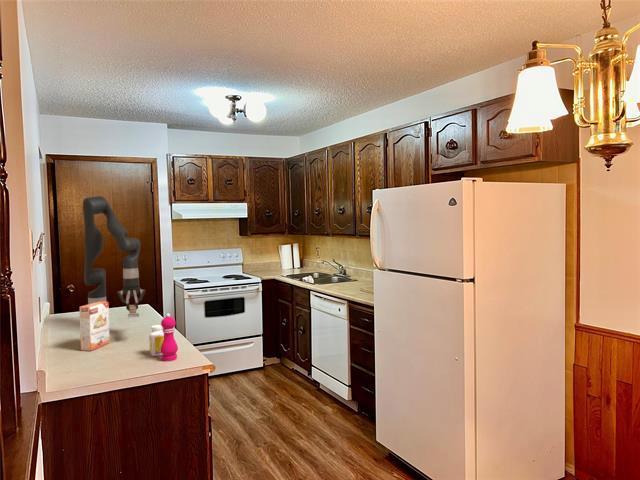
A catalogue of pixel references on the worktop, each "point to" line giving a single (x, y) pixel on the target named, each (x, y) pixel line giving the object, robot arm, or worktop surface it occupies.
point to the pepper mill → (168, 339)
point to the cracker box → (94, 325)
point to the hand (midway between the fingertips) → (132, 309)
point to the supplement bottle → (156, 340)
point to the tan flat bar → (132, 311)
